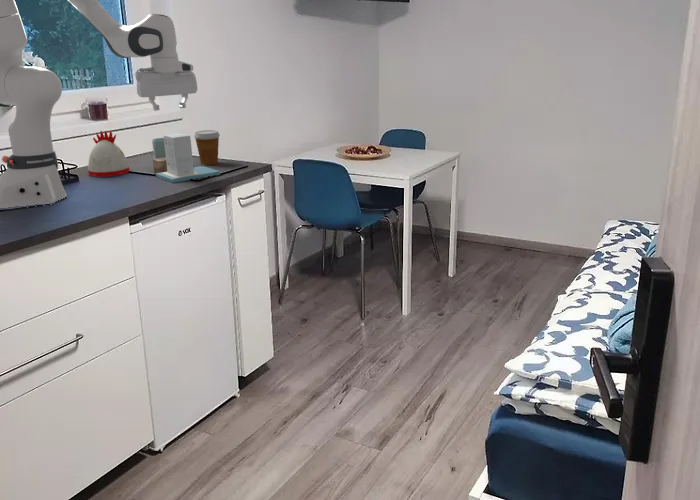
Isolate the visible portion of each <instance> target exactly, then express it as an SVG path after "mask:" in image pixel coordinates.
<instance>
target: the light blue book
mask: <svg viewBox="0 0 700 500" xmlns="http://www.w3.org/2000/svg"><path fill="white" fill-rule="evenodd" d="M193 167H194V173H191V174H185V175H179V176H177V175H174V174H171V173H168V172H162V173H155V178H158V179H161V180H164V181H166V182H168V183H169V182H170V183H172V184H175V183H179V182H185V181H191V180H190V179H193V180H197V179H196V178H198V179H201V178H200V177H204V178H208V176H210V177H214V175H215V176H220V175H221V171H220V170H217V169H214V168H210V167H207V166H205V165H200V166H199V165H198V166H193Z"/></svg>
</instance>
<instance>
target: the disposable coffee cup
mask: <svg viewBox="0 0 700 500" xmlns="http://www.w3.org/2000/svg"><path fill="white" fill-rule="evenodd" d="M193 137H194V139H195V142H196V147H197V152H198V157H199V161H200V165H201V166H213V165H217V164H218V163H219V161H218V160H219V141H220V140H219V138H220V134H219V131H218V130H216V129H215V130H214V129H213V130H212V129H207V130H205V129H204V130H198V131H195V132H194V135H193Z"/></svg>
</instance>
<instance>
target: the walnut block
mask: <svg viewBox="0 0 700 500" xmlns="http://www.w3.org/2000/svg"><path fill="white" fill-rule="evenodd" d="M152 164H153V172H154V173H153V174H156V173H162V172H167V163H166V157H165V158H158V159H155V158H153V159H152Z"/></svg>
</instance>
